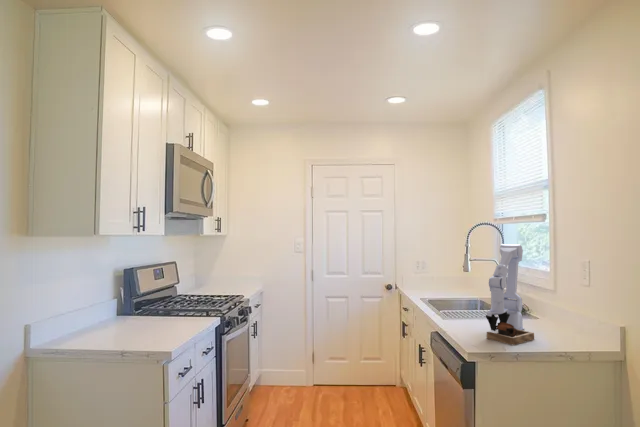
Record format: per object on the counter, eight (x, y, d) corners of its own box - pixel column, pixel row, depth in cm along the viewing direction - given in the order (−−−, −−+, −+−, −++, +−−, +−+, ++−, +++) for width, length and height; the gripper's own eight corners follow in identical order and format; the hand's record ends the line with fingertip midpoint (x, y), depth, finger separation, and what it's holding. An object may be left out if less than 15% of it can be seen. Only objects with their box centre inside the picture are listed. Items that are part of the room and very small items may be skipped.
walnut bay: (507, 333, 205) (507, 327, 205) (534, 339, 194) (534, 332, 194) (486, 338, 195) (486, 332, 196) (513, 345, 184) (513, 338, 184)
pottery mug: (488, 337, 197) (491, 321, 201) (502, 345, 200) (505, 328, 203) (509, 337, 187) (512, 320, 190) (524, 345, 189) (526, 328, 193)
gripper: (498, 298, 208) (499, 325, 207) (481, 301, 200) (481, 329, 199) (512, 300, 202) (512, 328, 201) (494, 303, 194) (494, 332, 193)
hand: (498, 329), depth 200 cm, fingers open, 7 cm apart
